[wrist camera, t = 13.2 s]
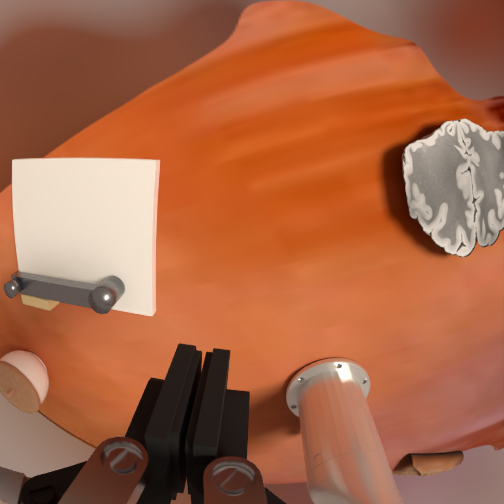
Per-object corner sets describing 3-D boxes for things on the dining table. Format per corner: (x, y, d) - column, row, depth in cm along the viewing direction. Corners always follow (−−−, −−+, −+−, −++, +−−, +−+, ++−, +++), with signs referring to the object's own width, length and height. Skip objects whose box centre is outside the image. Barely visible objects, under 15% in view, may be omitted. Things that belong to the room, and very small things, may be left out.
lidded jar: (23, 380, 46) (0, 408, 37) (6, 334, 43) (-23, 362, 34) (64, 393, 46) (42, 427, 37) (48, 346, 43) (19, 379, 34)
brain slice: (407, 266, 37) (417, 274, 35) (381, 132, 33) (391, 131, 30) (511, 228, 35) (523, 233, 32) (496, 113, 30) (509, 112, 28)
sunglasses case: (387, 474, 52) (402, 485, 45) (398, 447, 54) (415, 457, 47) (441, 470, 53) (457, 478, 47) (450, 446, 55) (467, 453, 48)
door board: (156, 310, 40) (141, 335, 34) (27, 285, 39) (4, 302, 34) (160, 159, 34) (141, 162, 28) (19, 159, 34) (-10, 163, 28)
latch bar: (124, 276, 36) (103, 298, 31) (125, 299, 37) (106, 322, 32) (27, 263, 36) (2, 278, 31) (30, 282, 37) (6, 300, 32)
